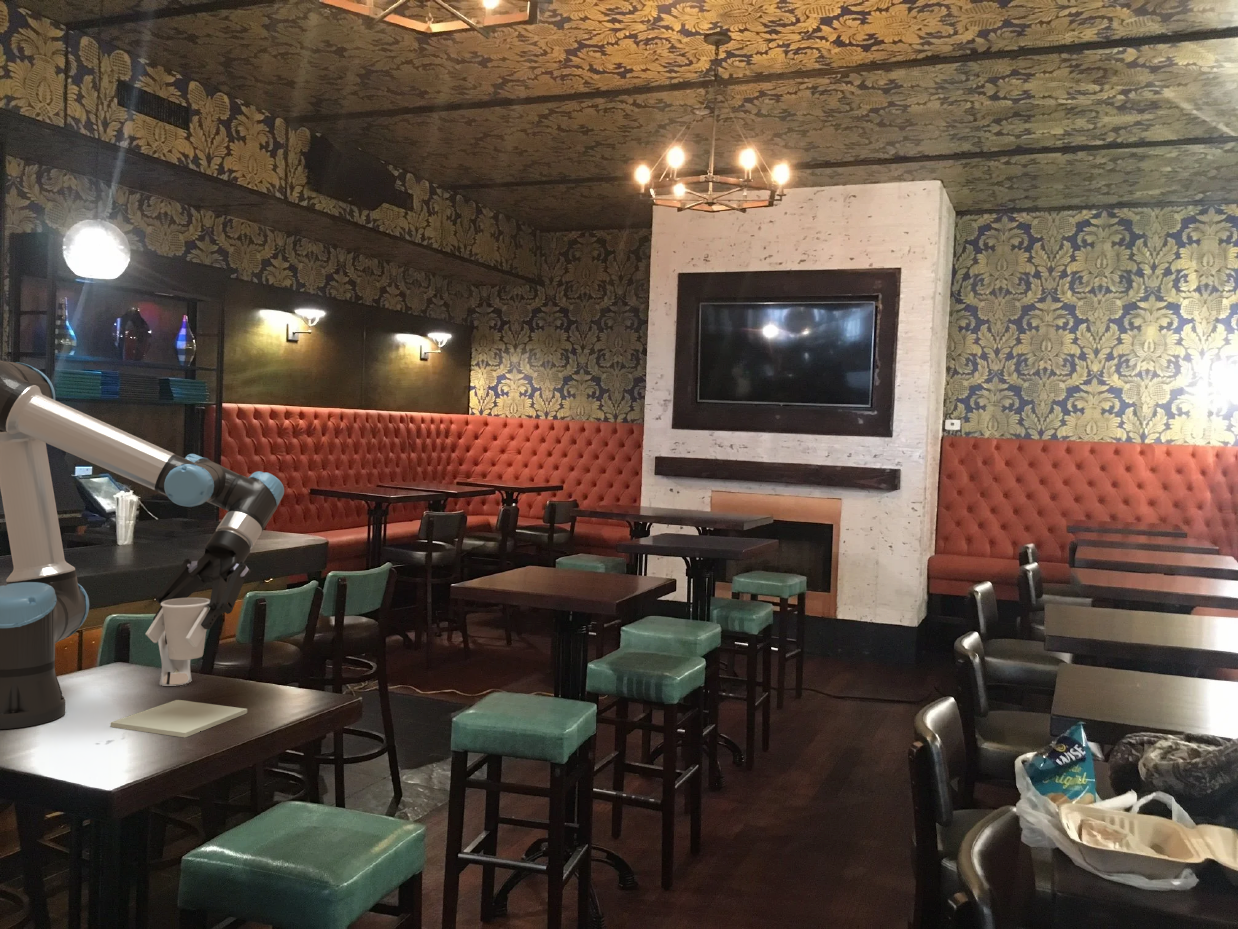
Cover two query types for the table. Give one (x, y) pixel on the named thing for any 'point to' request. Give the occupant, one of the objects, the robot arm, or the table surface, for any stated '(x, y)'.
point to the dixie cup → (182, 626)
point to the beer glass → (172, 667)
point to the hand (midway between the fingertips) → (171, 640)
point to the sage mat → (179, 718)
